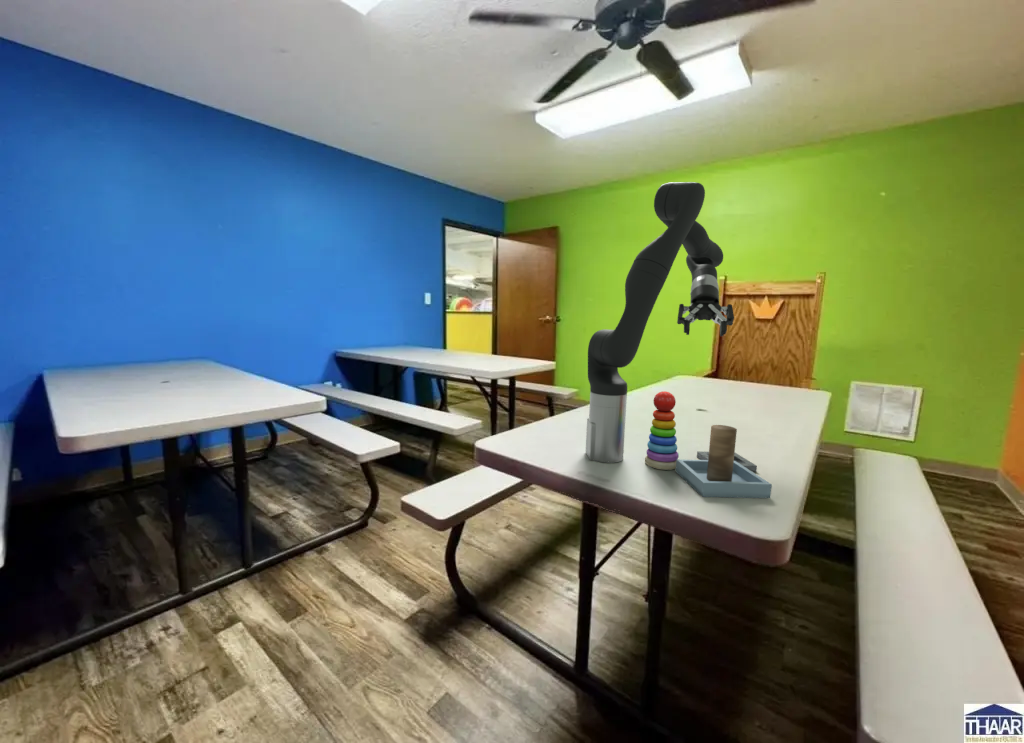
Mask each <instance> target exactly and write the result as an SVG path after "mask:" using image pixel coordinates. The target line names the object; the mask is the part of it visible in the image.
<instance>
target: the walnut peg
mask: <svg viewBox="0 0 1024 743" xmlns="http://www.w3.org/2000/svg"><path fill="white" fill-rule="evenodd" d="M737 431H738V429H737V428H736V427H733V426H731V425H725V424H712V425H711V426H710V435H709V436H710V438H709V446H708V448H709V449H708V452H709V457H708V468H707V480H709V481H729V482H732V473H733V463H734V453H736V452H735V450H736V442H737Z"/></svg>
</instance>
